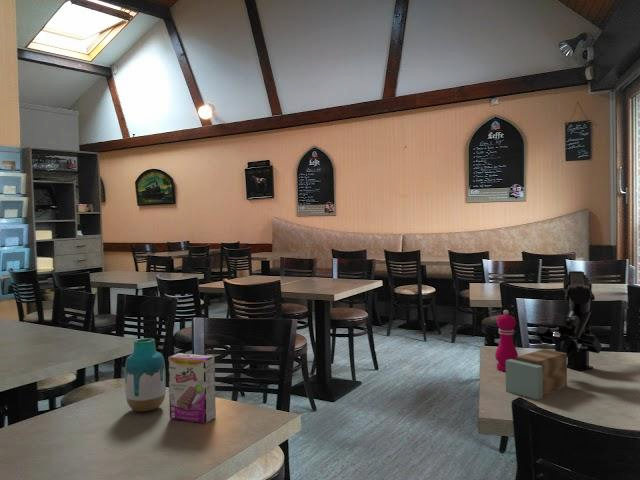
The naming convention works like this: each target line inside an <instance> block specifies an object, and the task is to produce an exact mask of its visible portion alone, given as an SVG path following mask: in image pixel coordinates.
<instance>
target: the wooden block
mask: <svg viewBox="0 0 640 480" xmlns="http://www.w3.org/2000/svg"><path fill="white" fill-rule="evenodd" d="M516 360H517V361H522V362H526V363H531V364H535V365H540V366H542V380H543V395H546V393H547V394H550V393H553V392H555V391H557V390H560V389H563V388H566V387H567V386H568V373H567V372H568V367H567V364H568V363H567V353H563V352H557V351H555V350H552V349H546V348H544V349H540V350H537V351H532V352H529V353H525V354H521V355H518V356H517V357H516ZM552 391H553V392H552ZM549 392H550V393H549Z"/></svg>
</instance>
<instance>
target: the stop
mask: <svg viewBox="0 0 640 480" xmlns="http://www.w3.org/2000/svg"><path fill="white" fill-rule="evenodd" d="M505 392H508V393H512V394H515V395H518V396H521V395H524V396H523V397H525V396H527V397H526V398H528V397H529V399H532V398H534V399H533V400H535V399H537V400H536V401H539V400H542V399H543V398H544V397H543V380H542V366H540V365H535V364H531V363H526V362H522V361H517V360H513V359H509V360H506V372H505ZM541 398H542V399H541ZM538 399H539V400H538Z"/></svg>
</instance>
